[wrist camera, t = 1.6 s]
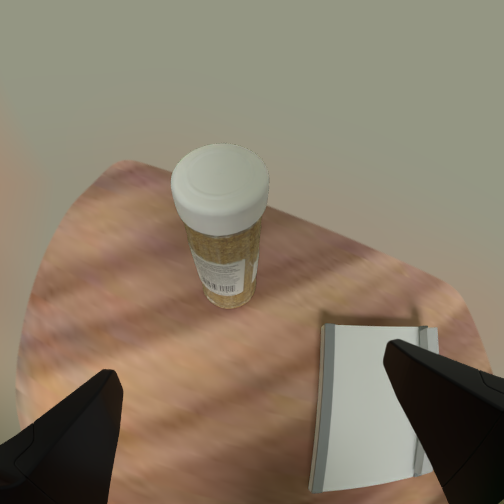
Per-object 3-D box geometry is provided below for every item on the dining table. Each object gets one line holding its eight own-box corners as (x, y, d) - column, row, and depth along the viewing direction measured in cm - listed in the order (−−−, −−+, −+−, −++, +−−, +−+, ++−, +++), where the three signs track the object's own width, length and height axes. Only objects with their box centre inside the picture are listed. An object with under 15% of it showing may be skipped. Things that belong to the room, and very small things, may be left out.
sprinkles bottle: (265, 278, 25) (289, 163, 13) (234, 321, 23) (229, 231, 11) (222, 251, 26) (212, 128, 14) (190, 290, 24) (148, 182, 12)
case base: (416, 472, 16) (431, 476, 14) (308, 488, 16) (315, 498, 14) (421, 329, 23) (436, 322, 20) (321, 327, 23) (329, 319, 21)
